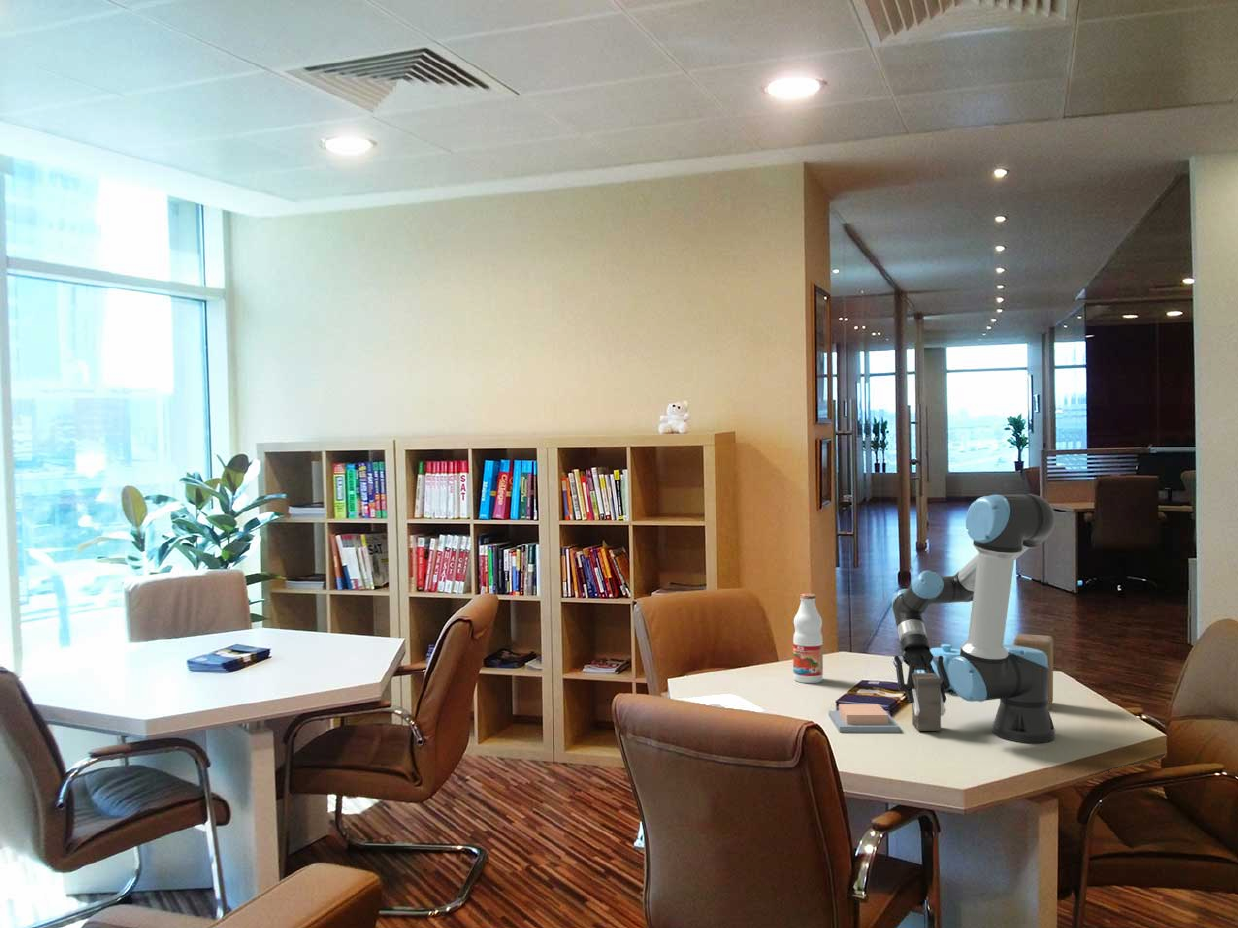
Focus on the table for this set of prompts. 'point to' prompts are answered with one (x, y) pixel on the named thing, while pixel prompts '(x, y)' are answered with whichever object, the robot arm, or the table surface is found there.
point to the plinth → (863, 726)
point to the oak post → (927, 701)
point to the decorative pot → (947, 657)
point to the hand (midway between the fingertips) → (930, 712)
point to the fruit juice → (807, 642)
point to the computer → (726, 702)
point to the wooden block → (1043, 645)
